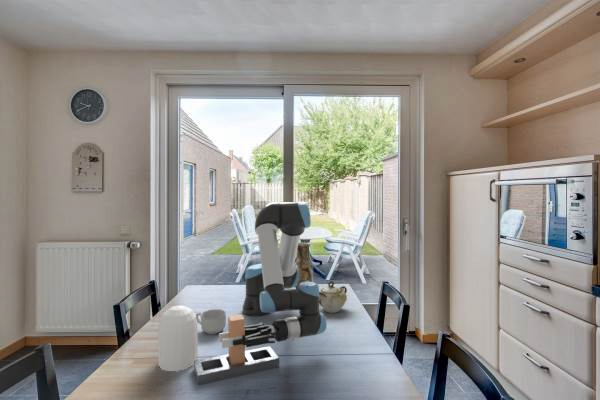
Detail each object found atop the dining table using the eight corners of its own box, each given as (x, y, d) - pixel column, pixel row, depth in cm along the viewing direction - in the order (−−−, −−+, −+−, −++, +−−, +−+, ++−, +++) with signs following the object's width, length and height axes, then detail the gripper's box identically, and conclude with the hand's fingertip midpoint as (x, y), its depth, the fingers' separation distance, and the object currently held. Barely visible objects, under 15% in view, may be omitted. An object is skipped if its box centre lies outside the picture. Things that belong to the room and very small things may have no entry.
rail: (194, 369, 118) (193, 360, 118) (269, 354, 129) (269, 346, 129) (198, 384, 108) (197, 375, 108) (279, 366, 119) (279, 358, 119)
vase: (292, 295, 203) (292, 244, 202) (296, 290, 214) (295, 241, 213) (310, 295, 201) (309, 244, 201) (312, 290, 212) (312, 241, 211)
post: (228, 362, 120) (228, 316, 120) (241, 359, 122) (241, 314, 121) (231, 368, 116) (231, 320, 115) (245, 365, 117) (244, 318, 117)
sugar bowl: (325, 318, 165) (325, 287, 165) (307, 309, 177) (307, 280, 177) (356, 310, 176) (356, 280, 176) (337, 302, 188) (337, 275, 188)
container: (156, 358, 126) (155, 304, 126) (193, 350, 133) (192, 298, 132) (161, 375, 114) (160, 315, 114) (202, 365, 121) (201, 308, 120)
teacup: (231, 328, 153) (230, 311, 153) (215, 338, 144) (215, 319, 143) (206, 324, 159) (206, 306, 159) (189, 332, 149) (189, 314, 149)
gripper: (294, 349, 118) (226, 363, 108) (277, 330, 134) (216, 341, 125) (294, 327, 117) (225, 339, 108) (277, 311, 134) (216, 320, 124)
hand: (221, 340), depth 116 cm, fingers closed on post, 5 cm apart
